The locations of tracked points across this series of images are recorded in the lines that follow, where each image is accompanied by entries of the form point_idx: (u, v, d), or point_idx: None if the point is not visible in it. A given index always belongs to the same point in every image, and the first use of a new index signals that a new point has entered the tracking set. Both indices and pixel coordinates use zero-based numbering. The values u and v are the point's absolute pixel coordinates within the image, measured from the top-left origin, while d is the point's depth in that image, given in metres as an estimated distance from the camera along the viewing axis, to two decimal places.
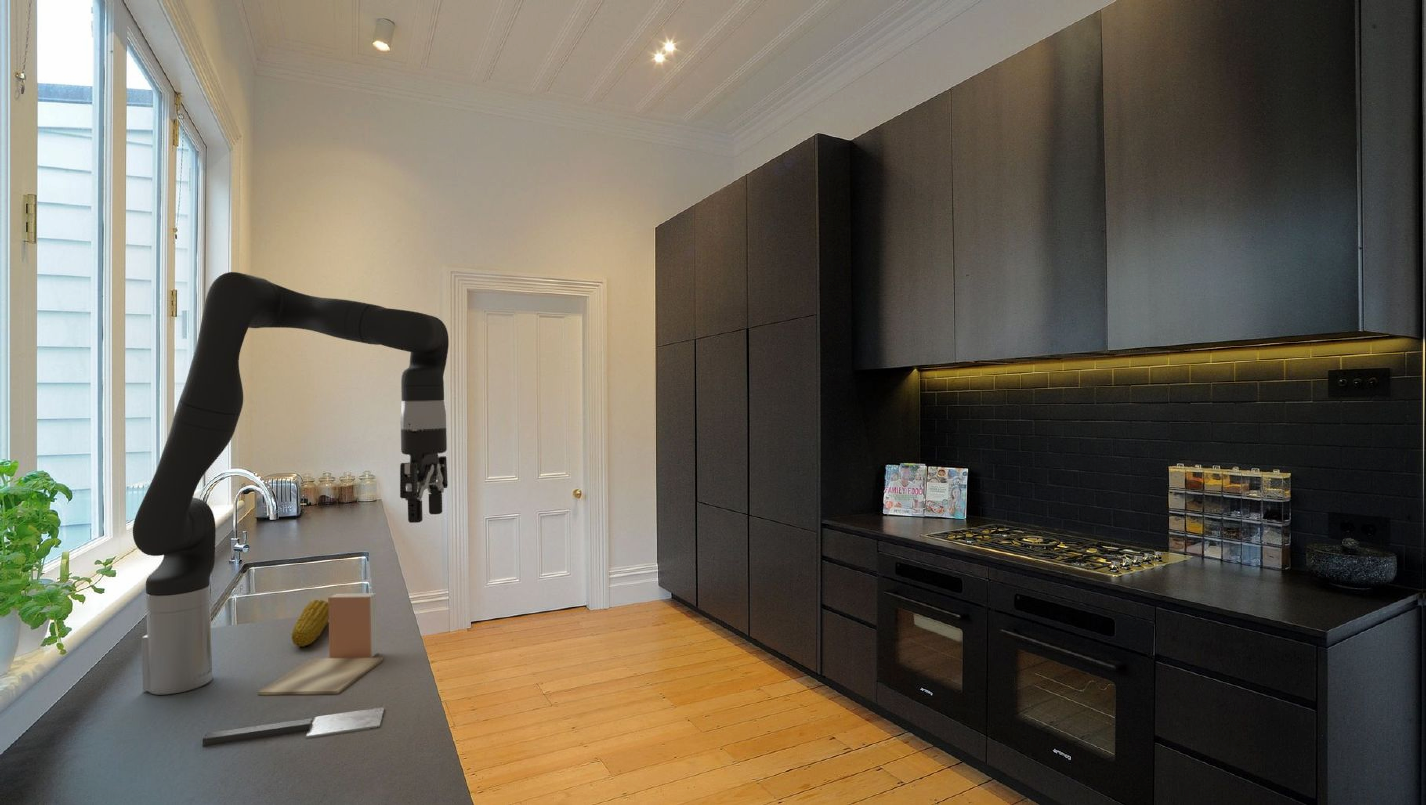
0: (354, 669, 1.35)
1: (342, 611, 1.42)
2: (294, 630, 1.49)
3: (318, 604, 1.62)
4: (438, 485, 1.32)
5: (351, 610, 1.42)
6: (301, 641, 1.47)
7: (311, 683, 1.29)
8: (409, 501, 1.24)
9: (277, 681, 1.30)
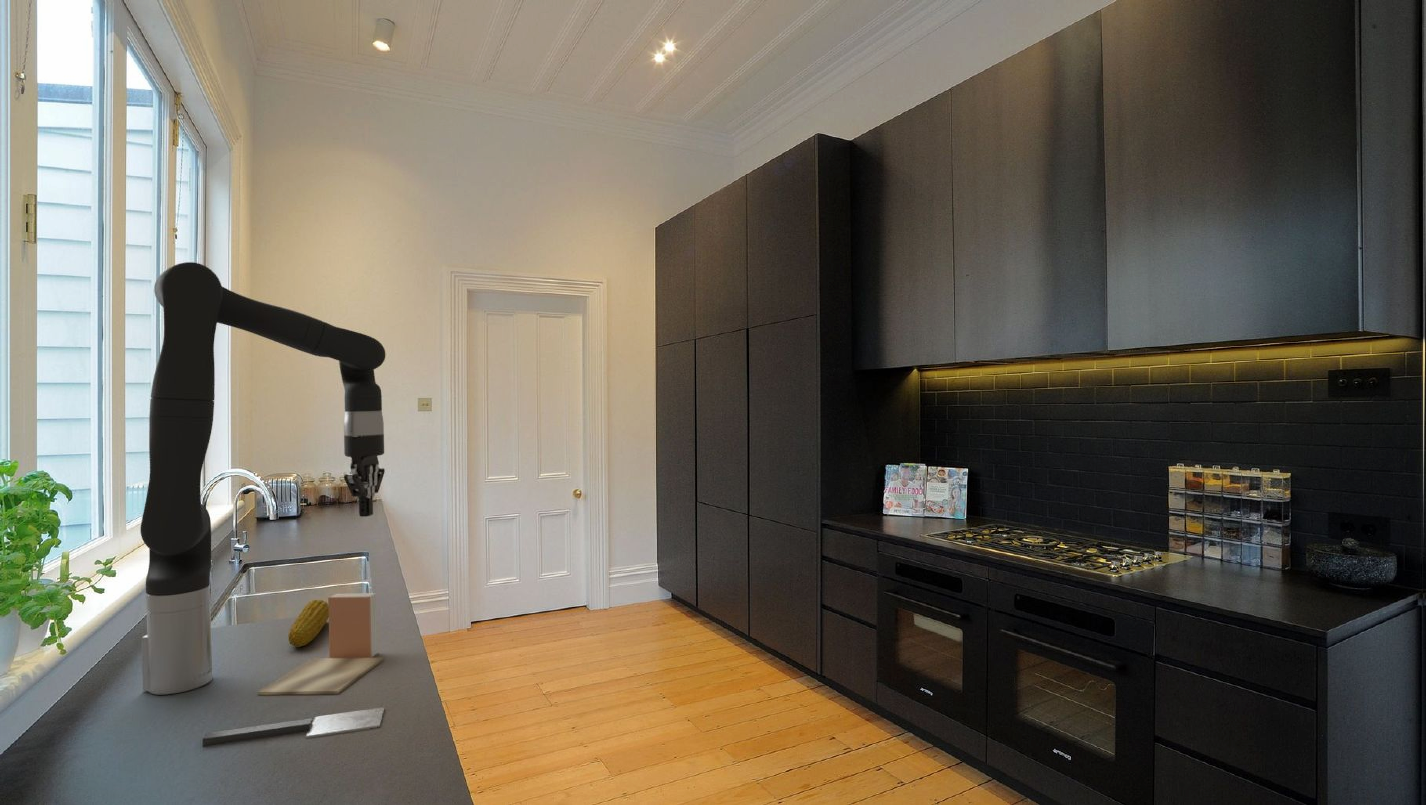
0: (354, 669, 1.35)
1: (342, 611, 1.42)
2: (291, 630, 1.49)
3: (317, 604, 1.62)
4: (371, 486, 1.53)
5: (351, 610, 1.42)
6: (297, 641, 1.47)
7: (311, 683, 1.29)
8: (360, 499, 1.51)
9: (277, 681, 1.30)
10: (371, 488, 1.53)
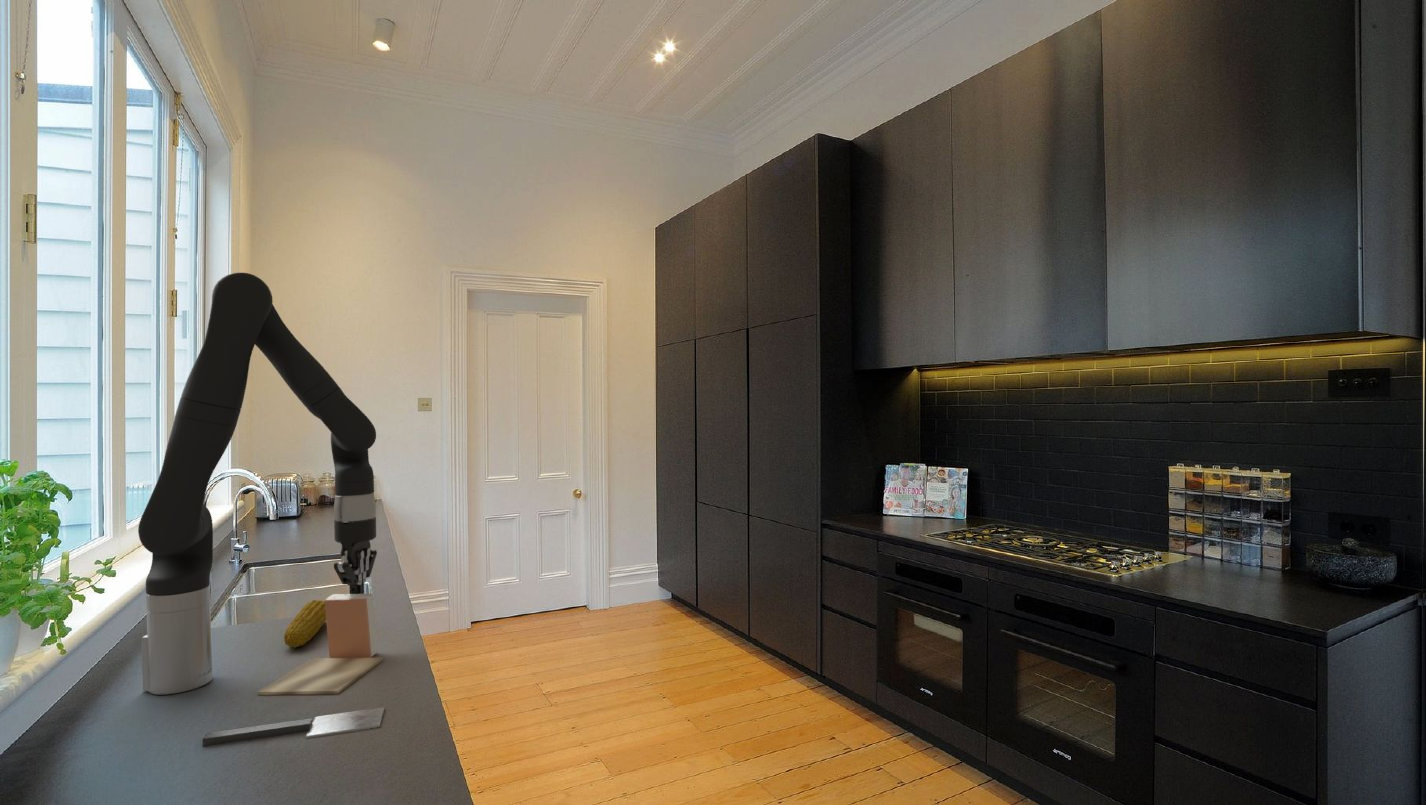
0: (354, 669, 1.35)
1: (339, 613, 1.41)
2: (287, 631, 1.49)
3: (315, 604, 1.62)
4: (362, 572, 1.46)
5: (348, 612, 1.41)
6: (293, 642, 1.47)
7: (311, 683, 1.29)
8: (350, 586, 1.44)
9: (277, 681, 1.30)
10: (362, 573, 1.46)
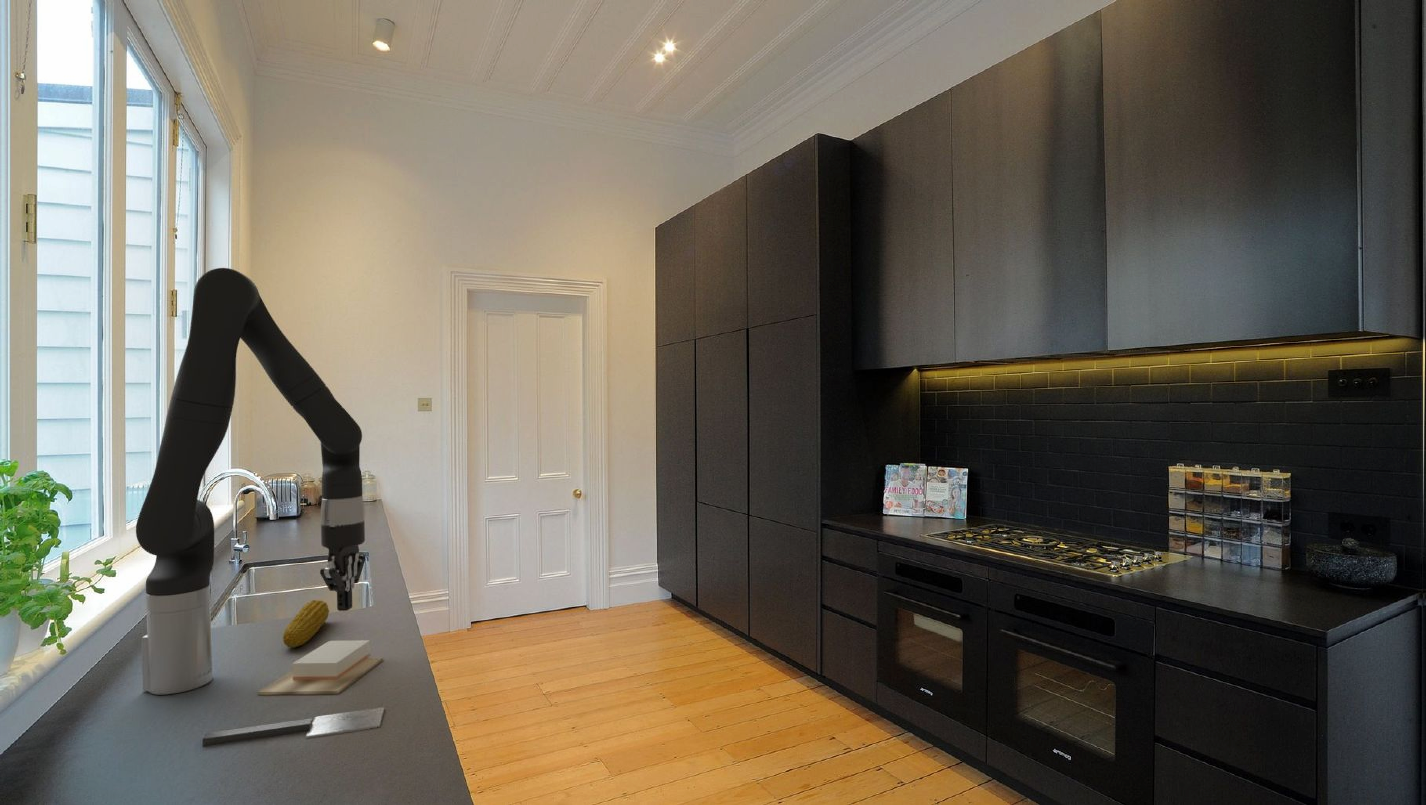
0: (354, 669, 1.35)
1: None
2: (285, 631, 1.48)
3: (315, 604, 1.62)
4: (350, 577, 1.42)
5: None
6: (291, 642, 1.47)
7: (311, 683, 1.29)
8: (338, 592, 1.40)
9: (277, 681, 1.30)
10: (350, 579, 1.42)
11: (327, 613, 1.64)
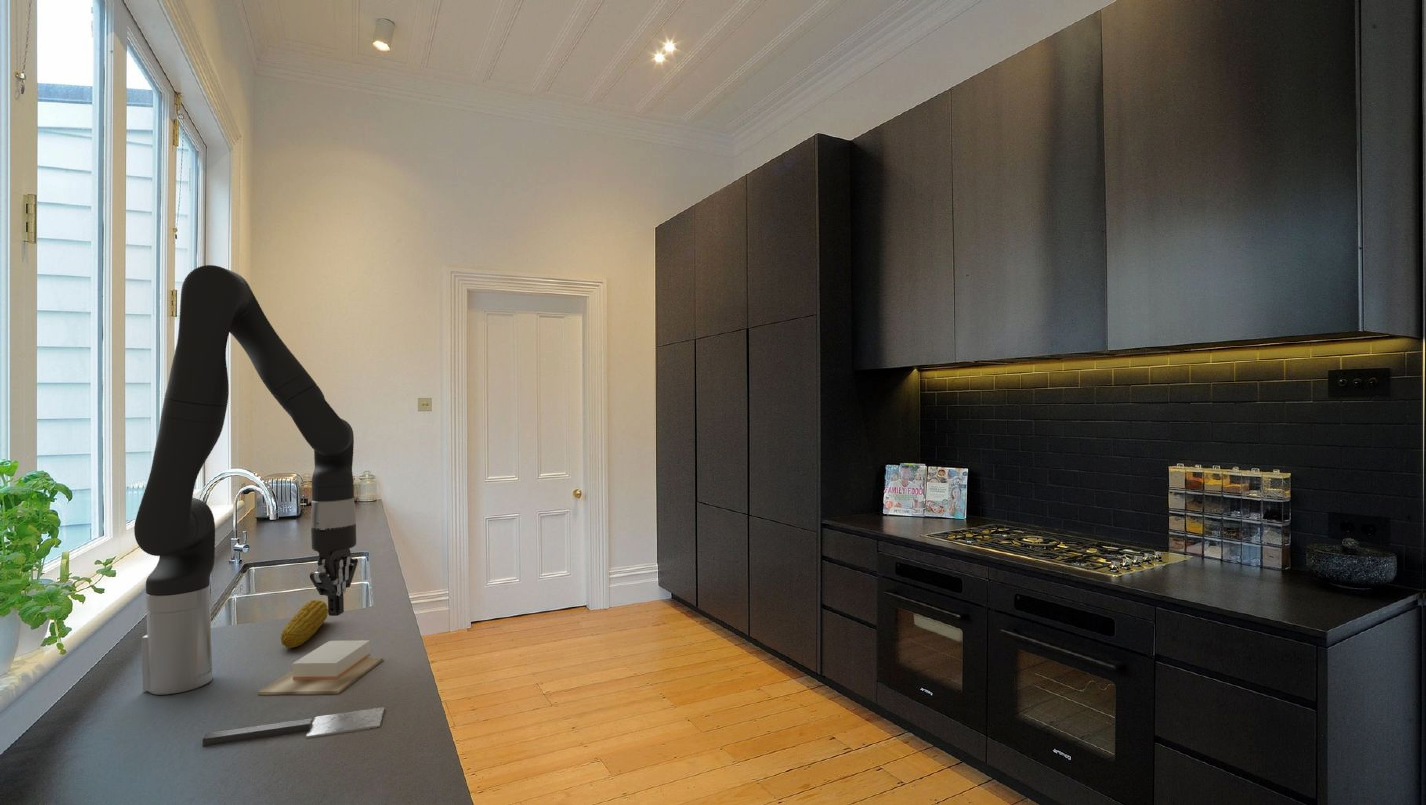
0: (354, 669, 1.35)
1: None
2: (284, 631, 1.48)
3: (314, 605, 1.61)
4: (341, 582, 1.38)
5: None
6: (289, 642, 1.47)
7: (311, 683, 1.29)
8: (329, 597, 1.36)
9: (277, 681, 1.30)
10: (342, 583, 1.38)
11: (326, 613, 1.64)
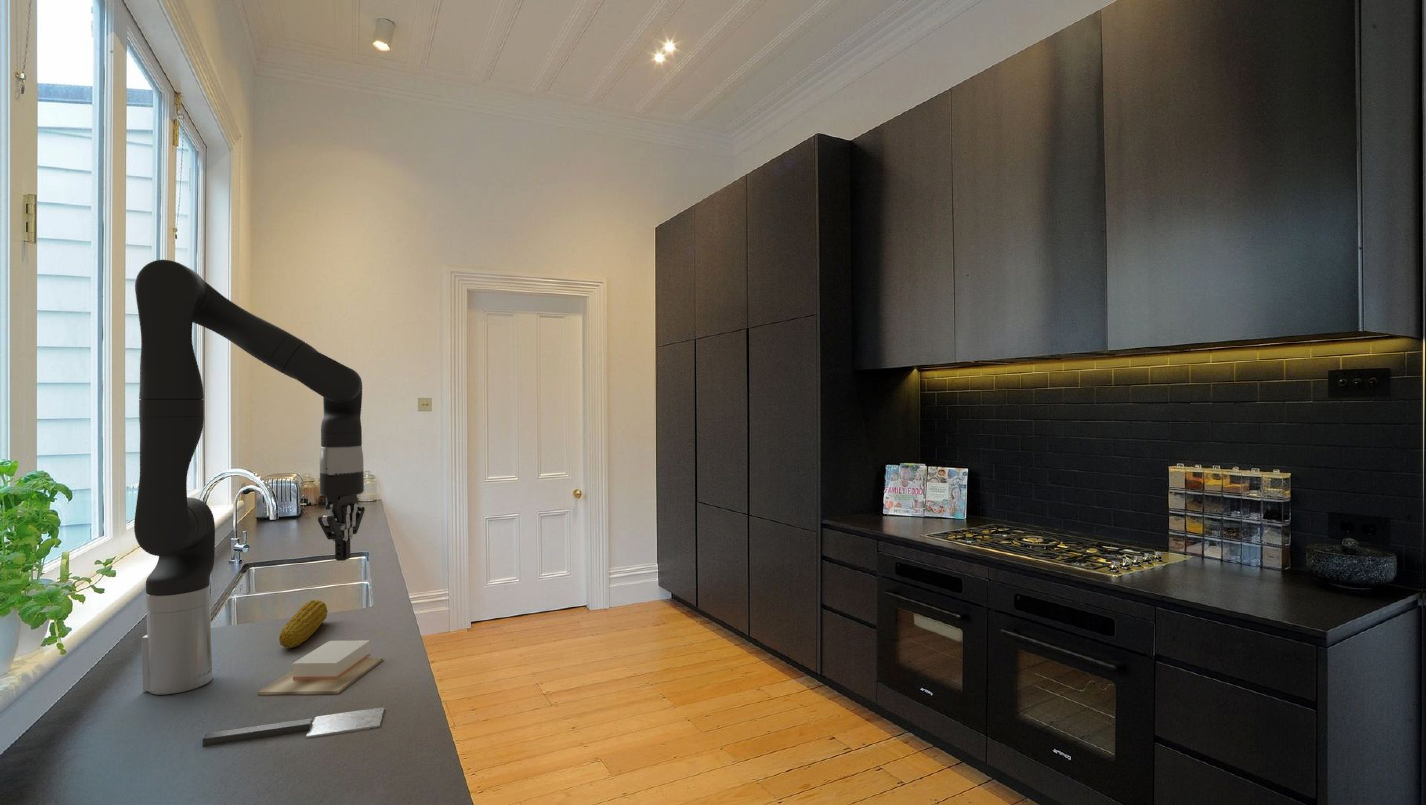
0: (354, 669, 1.35)
1: None
2: (282, 631, 1.48)
3: (313, 605, 1.61)
4: (348, 527, 1.41)
5: None
6: (287, 643, 1.46)
7: (311, 683, 1.29)
8: (336, 541, 1.39)
9: (277, 681, 1.30)
10: (349, 529, 1.41)
11: (325, 613, 1.64)
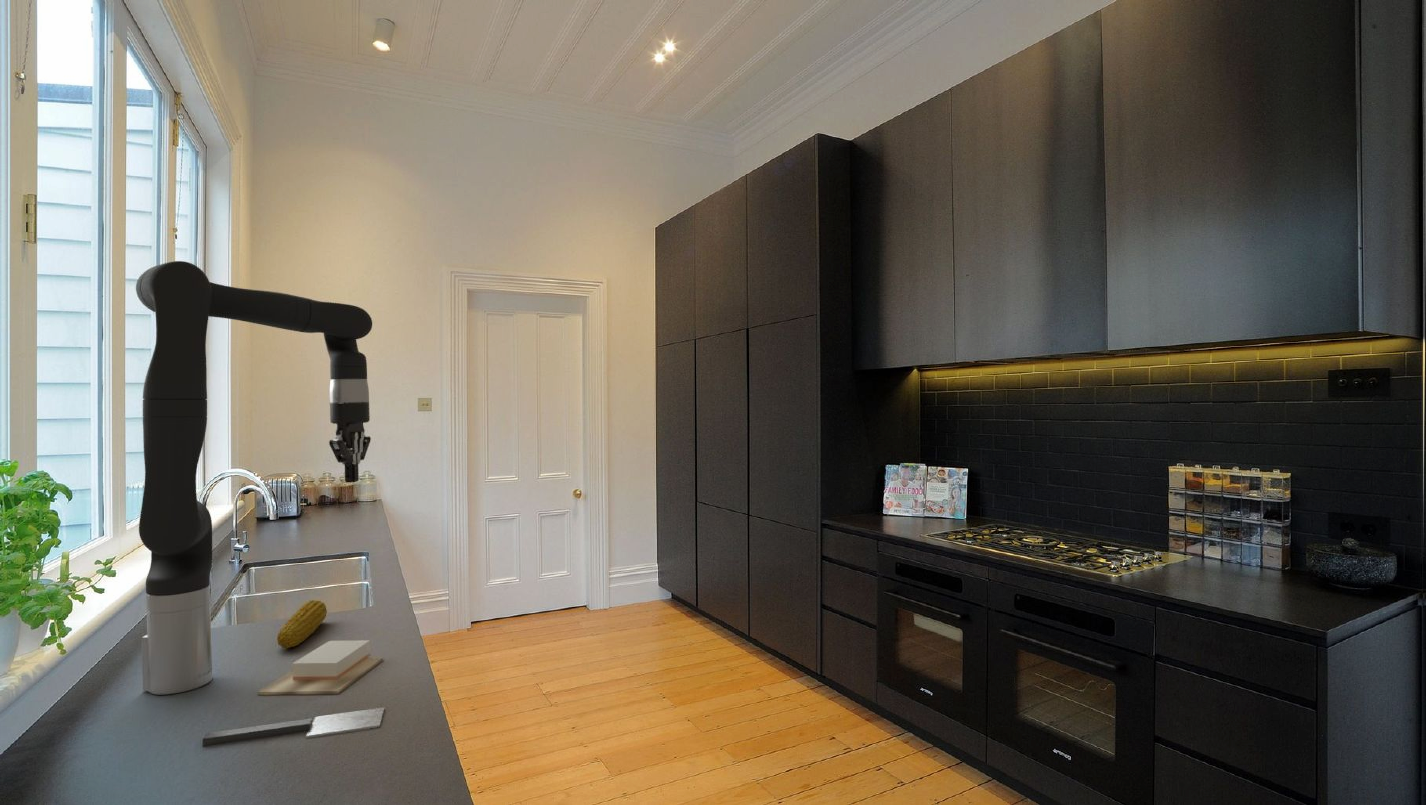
0: (354, 669, 1.35)
1: None
2: (280, 631, 1.48)
3: (312, 605, 1.61)
4: (356, 453, 1.56)
5: None
6: (285, 643, 1.46)
7: (311, 683, 1.29)
8: (345, 465, 1.54)
9: (277, 681, 1.30)
10: (357, 455, 1.56)
11: (325, 613, 1.64)
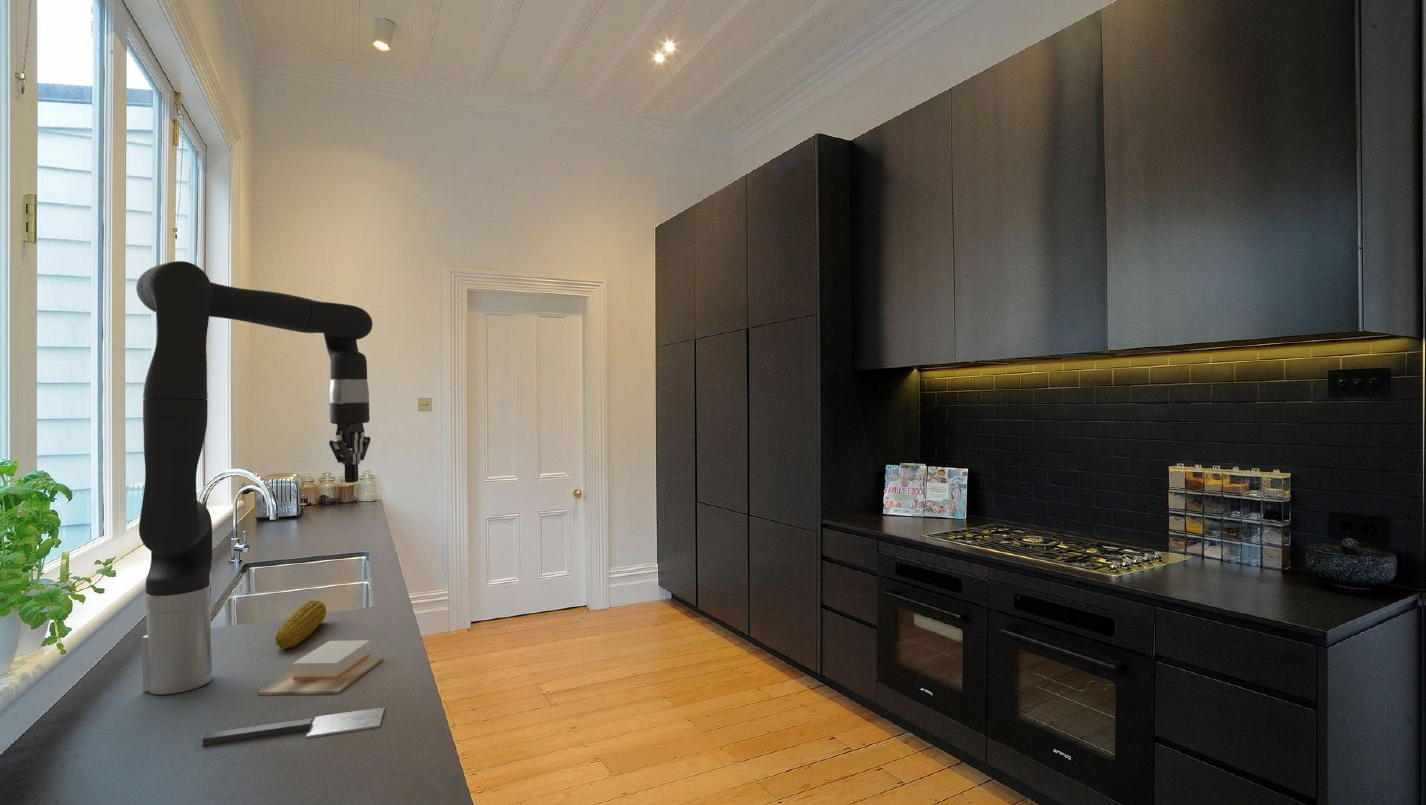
0: (354, 669, 1.35)
1: None
2: (278, 631, 1.48)
3: (311, 605, 1.61)
4: (356, 453, 1.56)
5: None
6: (283, 643, 1.46)
7: (311, 683, 1.29)
8: (345, 465, 1.54)
9: (277, 681, 1.30)
10: (356, 455, 1.56)
11: (324, 614, 1.63)
